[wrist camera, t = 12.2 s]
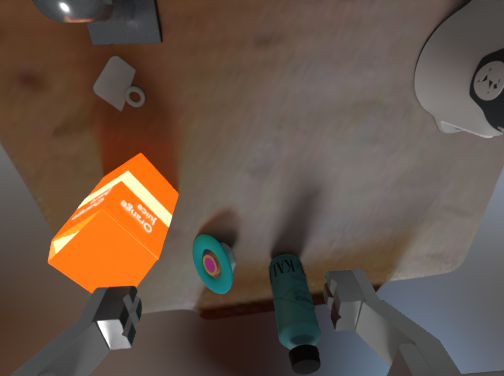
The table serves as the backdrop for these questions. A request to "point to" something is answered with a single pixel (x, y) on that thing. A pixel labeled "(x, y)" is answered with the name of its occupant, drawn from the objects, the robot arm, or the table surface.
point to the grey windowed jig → (108, 19)
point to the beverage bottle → (295, 313)
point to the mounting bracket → (118, 84)
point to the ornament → (214, 263)
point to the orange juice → (116, 228)
